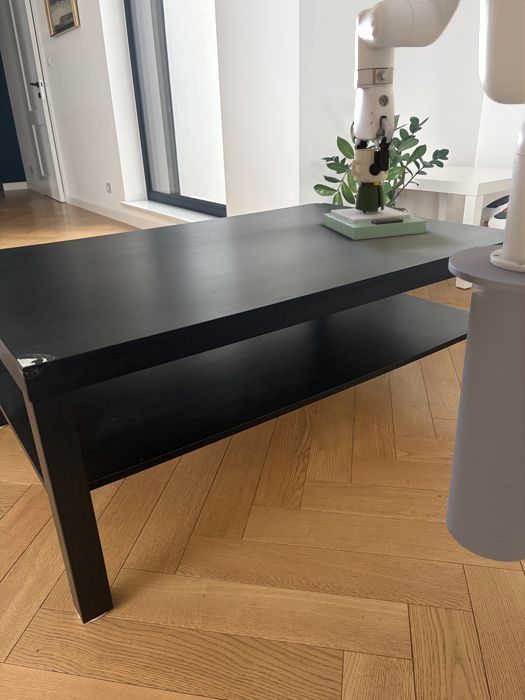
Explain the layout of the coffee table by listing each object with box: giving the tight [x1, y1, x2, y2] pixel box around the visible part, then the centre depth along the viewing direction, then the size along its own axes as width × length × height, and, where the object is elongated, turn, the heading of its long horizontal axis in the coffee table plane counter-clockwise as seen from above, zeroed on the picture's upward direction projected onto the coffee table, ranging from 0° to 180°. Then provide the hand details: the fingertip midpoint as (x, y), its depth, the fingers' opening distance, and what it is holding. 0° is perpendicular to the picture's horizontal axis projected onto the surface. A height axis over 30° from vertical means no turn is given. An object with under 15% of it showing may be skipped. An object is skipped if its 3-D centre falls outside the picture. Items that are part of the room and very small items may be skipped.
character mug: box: [350, 147, 391, 213], centre depth 118 cm, size 11×7×13 cm, turn 124°
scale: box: [322, 205, 427, 241], centre depth 120 cm, size 18×16×3 cm
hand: (370, 169), depth 117 cm, fingers open, 9 cm apart
